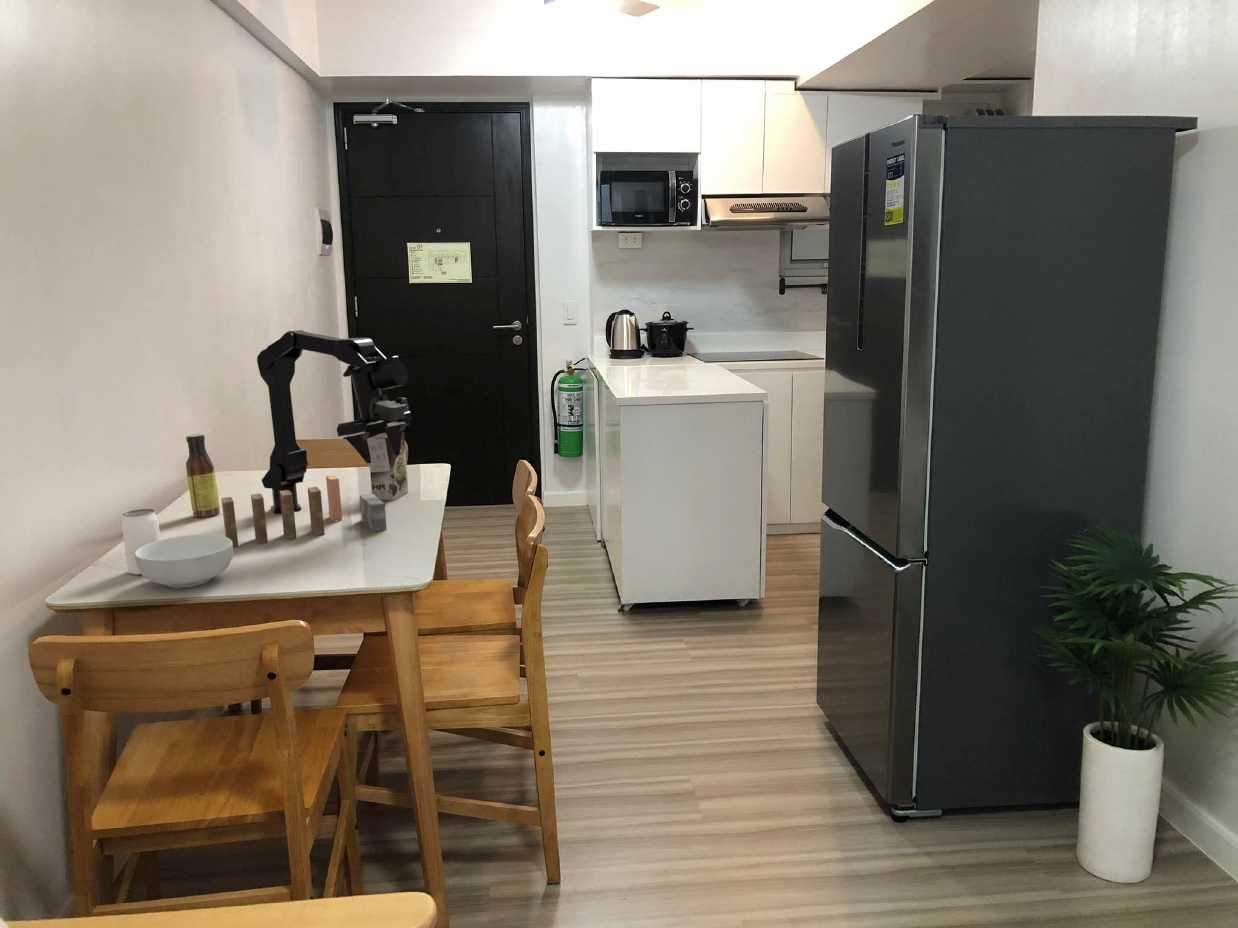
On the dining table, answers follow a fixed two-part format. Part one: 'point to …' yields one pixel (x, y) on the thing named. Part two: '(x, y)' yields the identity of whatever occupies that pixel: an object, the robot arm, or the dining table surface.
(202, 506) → the sauce bottle
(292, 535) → the domino
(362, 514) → the end stop
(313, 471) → the dining table surface
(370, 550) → the dining table surface
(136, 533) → the can
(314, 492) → the domino
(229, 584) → the dining table surface
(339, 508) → the end tile
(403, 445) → the coffee box
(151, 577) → the cereal bowl
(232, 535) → the domino
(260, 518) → the domino
